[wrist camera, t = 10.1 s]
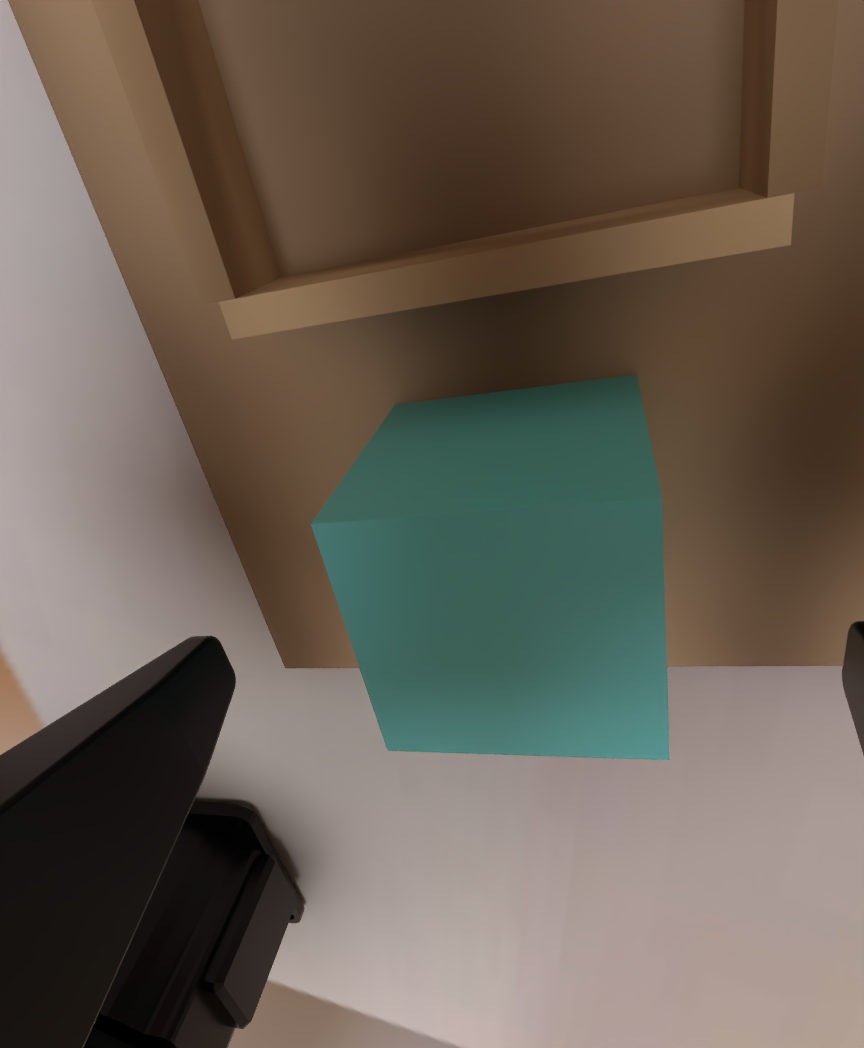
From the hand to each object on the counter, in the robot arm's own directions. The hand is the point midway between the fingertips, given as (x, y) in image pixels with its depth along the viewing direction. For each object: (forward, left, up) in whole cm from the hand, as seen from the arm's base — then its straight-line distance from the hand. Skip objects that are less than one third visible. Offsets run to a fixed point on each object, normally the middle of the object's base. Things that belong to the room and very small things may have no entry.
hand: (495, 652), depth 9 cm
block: (0, 0, -4) cm, 5 cm away
